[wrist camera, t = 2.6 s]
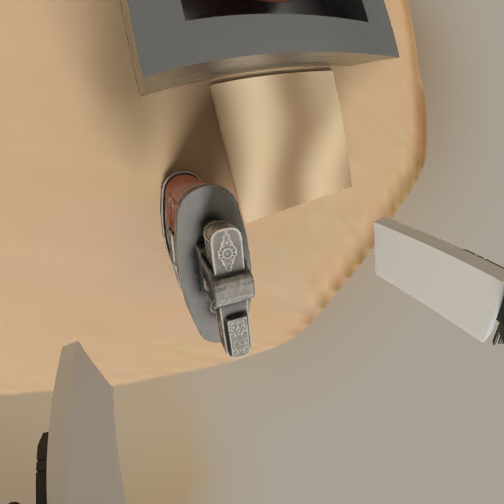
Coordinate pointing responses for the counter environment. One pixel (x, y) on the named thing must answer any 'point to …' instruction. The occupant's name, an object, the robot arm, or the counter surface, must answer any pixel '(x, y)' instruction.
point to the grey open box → (250, 37)
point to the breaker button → (276, 0)
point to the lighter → (209, 258)
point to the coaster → (282, 139)
